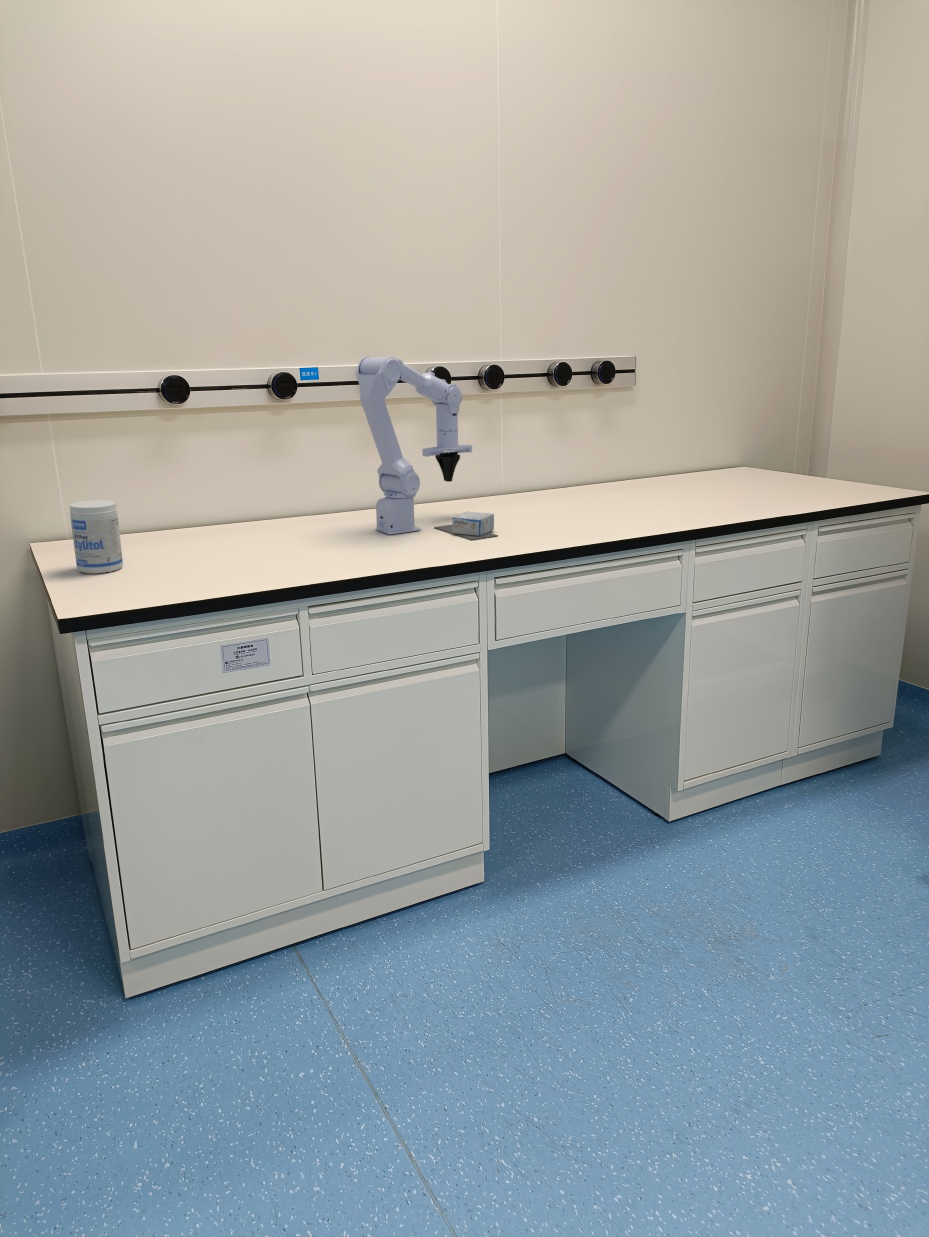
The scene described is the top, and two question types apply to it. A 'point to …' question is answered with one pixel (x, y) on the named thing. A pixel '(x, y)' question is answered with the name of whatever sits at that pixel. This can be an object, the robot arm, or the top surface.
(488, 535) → the rubber mat
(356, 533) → the top surface
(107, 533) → the supplement tub
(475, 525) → the medicine box
